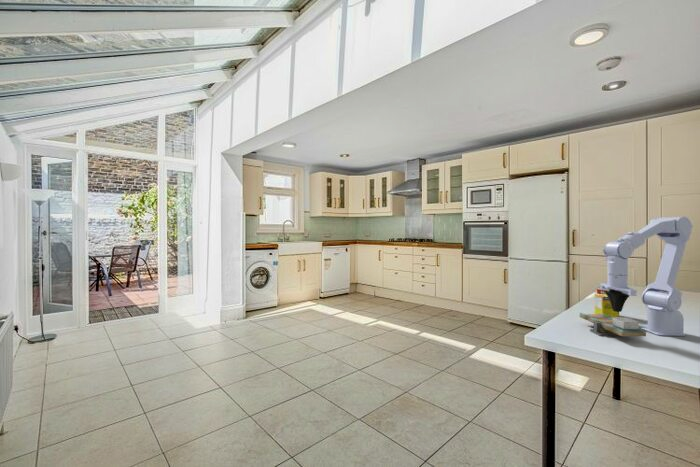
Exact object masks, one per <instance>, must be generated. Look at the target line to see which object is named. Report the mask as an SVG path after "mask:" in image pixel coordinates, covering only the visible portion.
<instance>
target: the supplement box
mask: <svg viewBox="0 0 700 467" xmlns="http://www.w3.org/2000/svg"><path fill="white" fill-rule="evenodd" d="M598 313H601V314H604V315H606V316H609V317H611V318H613V317H618V312H615V311H613V309H612V305H611V302H610V300H609V298H608V296H607V295H606V294H597V293H595V294H594V314H598Z"/></svg>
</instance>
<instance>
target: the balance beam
mask: <svg viewBox="0 0 700 467" xmlns="http://www.w3.org/2000/svg"><path fill="white" fill-rule="evenodd" d="M579 318H580V319H583V320H585V321H588V322H589V323H592V324H594V322H600V323H601V328H602V329H607V330H609V331H611V332H614V333H616V334H618V335H620V336H619V337H647V331H646V330H643V329H641V328H639V331H626V330H620V329H618V328H616V327H613V318H611V317H609V316H606V315H604V314H601V313H598V314H595V313H593V314H591V313H589V314H588V313H583V312H580V313H579Z"/></svg>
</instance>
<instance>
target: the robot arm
mask: <svg viewBox="0 0 700 467" xmlns="http://www.w3.org/2000/svg"><path fill="white" fill-rule="evenodd" d="M693 228H694V227H693V223H692V222H691V220H690V219H689V217H686V216H676V217H675V216H673V217H672V216H670V217H669V216H668V217H667V216H666V217H659V216H658V217H657V216H656V217H654V218H653V219H651V220H649V223H648V224H646V225H645V226H644V227H642V228H641V229H640V230H638V231H629V232H627V233H626V234H625V235H624V236H622V237H619V238H617V240H615V241H609V242H608V243H606V244H605V245H604V247H603V249H602V253H603V255H604V257H605V261H606V265H607V267H606V270H607V271H606V272H607V277H606V279H607V280H606V281H607V282H600V283H599V284H600V288H605V289H609V291H606V292H605V293H606V295H607V296H608V298H609V300H610V302H611V305H612V309H613V311H615V312H619V313H620V312H621V313H622V311H623V309H624V305H625V303H626V301H627V300H628V299H629V298H630V297H636V296H637V295H638V294H637V292H638V291H637V290H636V289H633V288H631V287H629V282H628V280H629V278H628V277H629V275H628V274H629V273H628V267H629V265H628V263H629V262H628V259H629V258H631V257H632V255H633V253H634V251H635V250H637V249H639V248H640V247H641V246H643V245H645V243H646V240H647V239H650V238H652V237H654V236H655V235H656V237H658V239H660V240H661V241H663V242H665V243H664V244H665V245H664V249H663V253H662V256H661V260H660V264H659V266H658V271H657V273H656V277H655V280H654V282H651V283H650V284H647V285H646V288H645V289H644V291H643V292H642V294H641V297H640V298H641V302H642V304H644V305H645V308H647V327H640V329H641V330H644V331H646V332H649V333H651V334H653V335H656V336H666V337H667V336H668V337H669V336H670V337H671V336H673V337H675V336H677V337H679V336H680V337H684V336H686V334H685V333H684V330H685V329H684V324H685V323H684V320H685V318H684V316H683V313H682V312H680V310H679V309H680V308H681V306H682V295H683V294H682V291H681V290H680V289H678V288H677V287H676V286H675V284H676V281H677V278H678V274H679V271H680V267H681V264H682V261H683V256H684V253H685V250H686V245H687V243H688V241H689V240H690V236H691V234H692V231H693Z"/></svg>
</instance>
